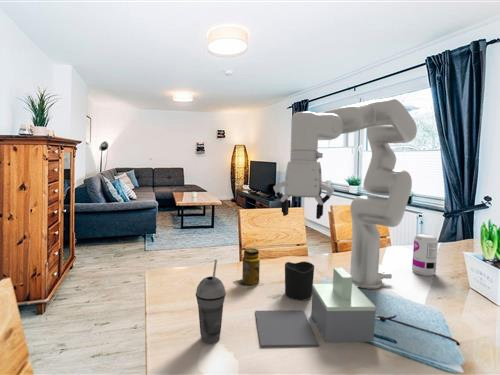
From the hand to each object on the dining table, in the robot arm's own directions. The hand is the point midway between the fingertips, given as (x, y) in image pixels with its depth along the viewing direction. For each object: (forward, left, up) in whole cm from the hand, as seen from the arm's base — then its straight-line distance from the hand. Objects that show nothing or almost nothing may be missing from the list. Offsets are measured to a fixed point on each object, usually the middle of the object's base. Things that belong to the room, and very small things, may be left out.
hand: (301, 216), depth 92 cm
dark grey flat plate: (+6, +10, -28) cm, 30 cm away
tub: (-9, +10, -28) cm, 31 cm away
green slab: (-9, +10, -21) cm, 25 cm away
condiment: (+14, -20, -28) cm, 37 cm away
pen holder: (-2, -10, -28) cm, 30 cm away
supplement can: (-56, -29, -28) cm, 69 cm away
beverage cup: (+25, +15, -28) cm, 40 cm away
